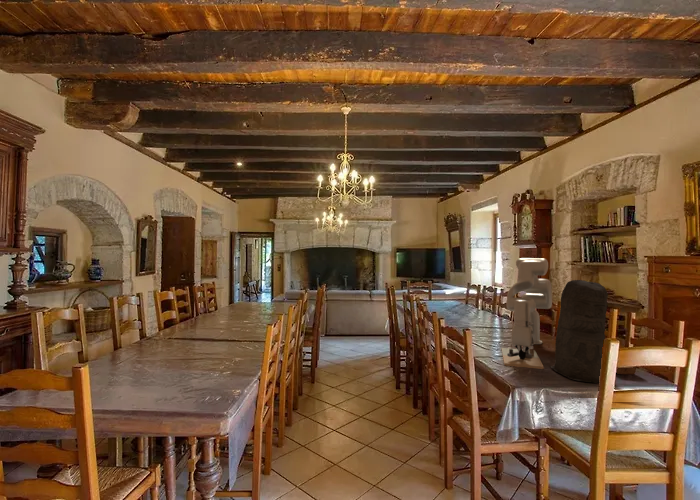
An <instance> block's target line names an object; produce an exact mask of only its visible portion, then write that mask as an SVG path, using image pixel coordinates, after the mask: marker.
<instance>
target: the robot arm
mask: <svg viewBox="0 0 700 500" xmlns="http://www.w3.org/2000/svg"><path fill="white" fill-rule="evenodd" d="M515 266H516V268H517V270H518V271H517V278H516V279H517V281H516V282H515V283H514V284H513V285H512V286H511V287H510V288H509V290H508V292H507V295H506V296H507V297H506V309H507V310H508V311H509V312H513V313H514V316H513V317H514V323H513V325H512V330H511V337H510V338H511V339H510V340H511V346H512V347H514V348H515V349H518V351H519V357H520V359H522V360H524V359H525V358H526V351H527V350H528V349H534V348H535V347H534V345H542V344H543V341H542V340H540V339H541V338H540V337H541V336H540V335H541V334H540V331H541V330H540V328H541V327H540V326H541V325H540V323H541V322H540V321H541V320H540V314H539V312H538V311H537V310H536V309H543V310H544V309H545V310H549V309H551V308H552V307H553V291H552V288H553V287H552V282H551V281H550V280H549V279H548V278H539V277H538V276H545V275H546V274H548V273H547V272H548V270H549V262H548V259H547V258H544V257H543V258H541V257H540V258H539V257H537V258H536V257H535V258H534V257H521V258H520V257H519V258H517V259H516V261H515ZM522 292H525V293H523V294H522V295H521V297H515V295H516V294H518V293H522ZM522 349H523V350H522Z"/></svg>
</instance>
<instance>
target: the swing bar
mask: <svg viewBox="0 0 700 500" xmlns="http://www.w3.org/2000/svg"><path fill="white" fill-rule="evenodd" d="M513 349H514V348H510V349H509V353H507V355H508V356H509V357H513V356H518V355H519V351H516V352H513ZM526 354H527V351H526Z"/></svg>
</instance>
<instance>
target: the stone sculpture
mask: <svg viewBox="0 0 700 500" xmlns="http://www.w3.org/2000/svg"><path fill="white" fill-rule="evenodd" d="M608 298H609V293H608V291H607V289H606V287H605V286H604V285H602V284H601V283H599V282H593V281H586V280H584V279H583V280H582V279H574V280H573V279H572V280H570V281H568V282H566V284H565V286H564V287H563V289H562V292H561V297H560V308H559V309H560V310H559V314H558V315H559V317H558V320H557V328H556V336H555V344H554V345H555V351H554V352H555V353H554V354H555V355H554V356H555V358H554V365H549V367H550V368H551V369H552V370H554V371H555V372H557V373H558V374H560V375H561V376H564V377H566V378H568V379H570V380H573V381H577V382H584V383H585V382H586V383H592V384H595V383H597V384H599V383H600V382H599V376H600V369H601V358H602V347H603V340H604V339H605V340H606V335H605V332H606V319H607V310H608Z"/></svg>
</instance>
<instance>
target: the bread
mask: <svg viewBox="0 0 700 500" xmlns="http://www.w3.org/2000/svg"><path fill="white" fill-rule="evenodd" d="M636 371H637V366H636V367H633V368H618V369H617V374H616V375H630V376H632V375H636Z"/></svg>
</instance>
